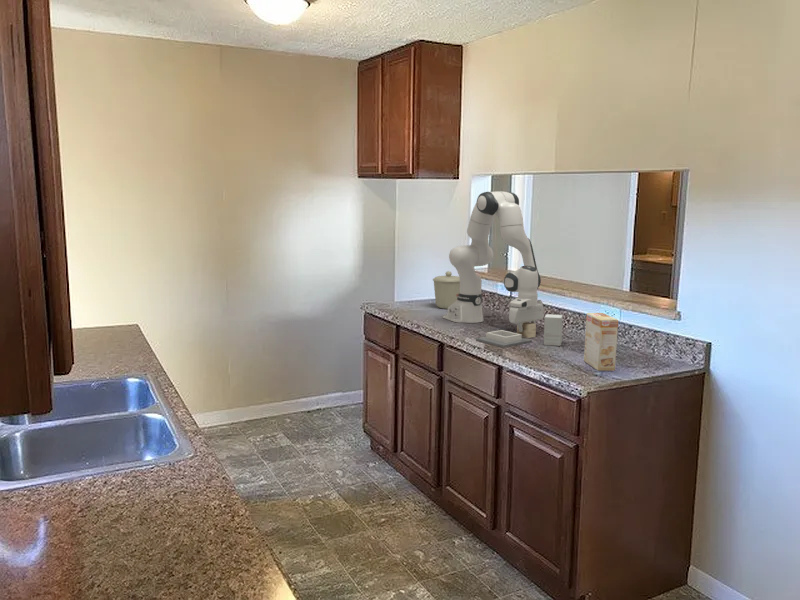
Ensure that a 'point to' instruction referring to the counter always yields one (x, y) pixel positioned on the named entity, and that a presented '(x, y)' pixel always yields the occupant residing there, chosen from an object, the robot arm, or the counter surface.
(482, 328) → the counter surface
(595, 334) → the coffeecake box
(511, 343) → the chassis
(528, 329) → the tan cardboard carton
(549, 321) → the supplement box
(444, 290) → the canister
